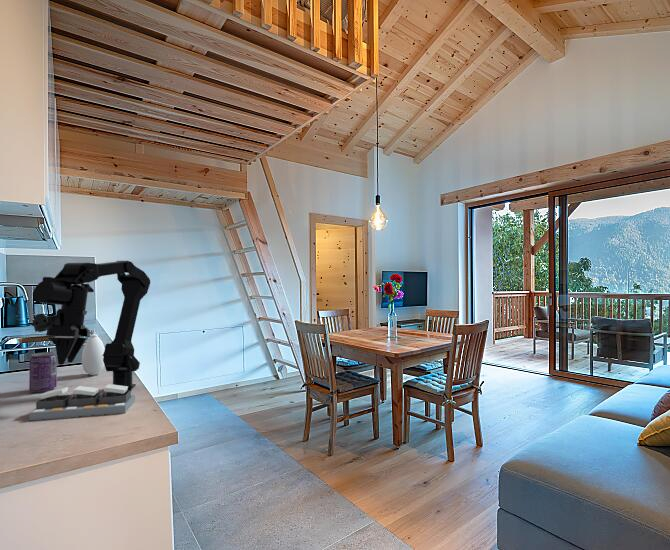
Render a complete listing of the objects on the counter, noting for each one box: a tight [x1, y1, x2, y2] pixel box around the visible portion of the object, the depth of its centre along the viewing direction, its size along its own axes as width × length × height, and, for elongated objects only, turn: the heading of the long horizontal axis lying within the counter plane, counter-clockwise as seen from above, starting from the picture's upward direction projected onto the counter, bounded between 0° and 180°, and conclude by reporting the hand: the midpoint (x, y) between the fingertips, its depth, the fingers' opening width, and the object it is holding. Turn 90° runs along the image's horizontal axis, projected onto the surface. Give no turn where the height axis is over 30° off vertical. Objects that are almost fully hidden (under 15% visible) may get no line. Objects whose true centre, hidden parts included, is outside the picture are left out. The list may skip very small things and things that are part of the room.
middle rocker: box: [72, 385, 100, 396], centre depth 106 cm, size 4×5×1 cm
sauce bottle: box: [81, 327, 105, 376], centre depth 145 cm, size 8×8×18 cm
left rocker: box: [39, 386, 69, 399], centre depth 104 cm, size 4×5×1 cm
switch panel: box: [28, 390, 136, 421], centre depth 106 cm, size 10×23×4 cm, turn 104°
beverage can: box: [28, 351, 58, 393], centre depth 125 cm, size 7×7×12 cm
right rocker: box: [103, 383, 128, 394], centre depth 108 cm, size 4×5×1 cm
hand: (65, 363), depth 104 cm, fingers open, 9 cm apart
